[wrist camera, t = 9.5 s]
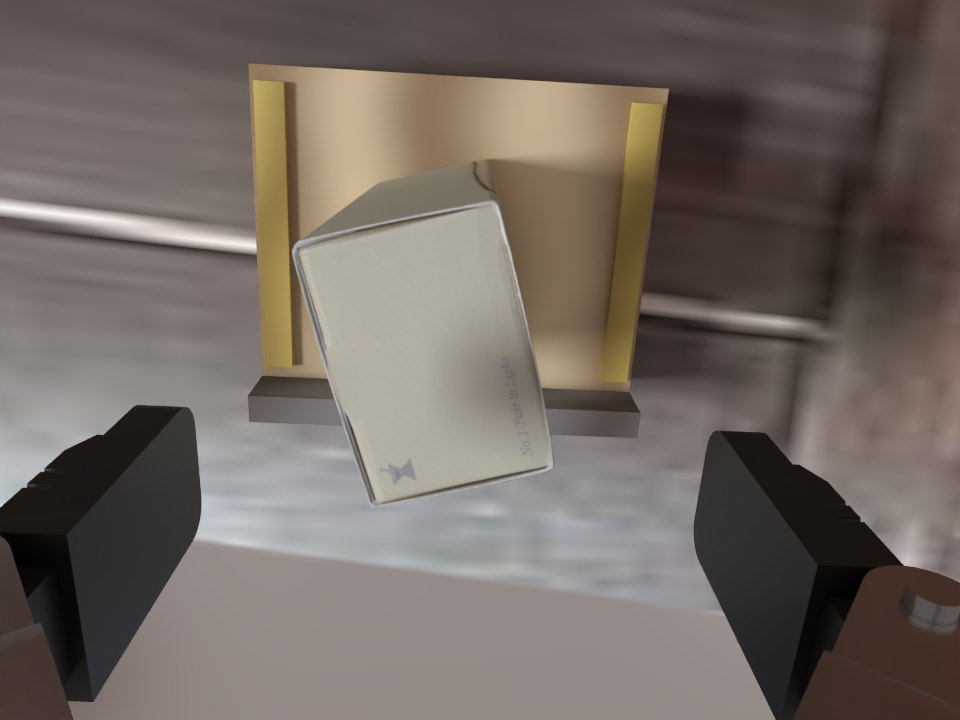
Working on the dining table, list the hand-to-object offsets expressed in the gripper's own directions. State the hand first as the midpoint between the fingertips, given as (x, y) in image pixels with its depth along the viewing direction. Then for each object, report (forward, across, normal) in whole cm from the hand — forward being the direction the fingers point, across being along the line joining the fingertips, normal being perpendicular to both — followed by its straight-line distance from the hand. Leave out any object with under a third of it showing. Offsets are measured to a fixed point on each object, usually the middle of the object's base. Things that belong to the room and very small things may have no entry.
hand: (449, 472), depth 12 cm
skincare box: (+16, 0, 0) cm, 16 cm away
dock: (+20, 0, 0) cm, 20 cm away
